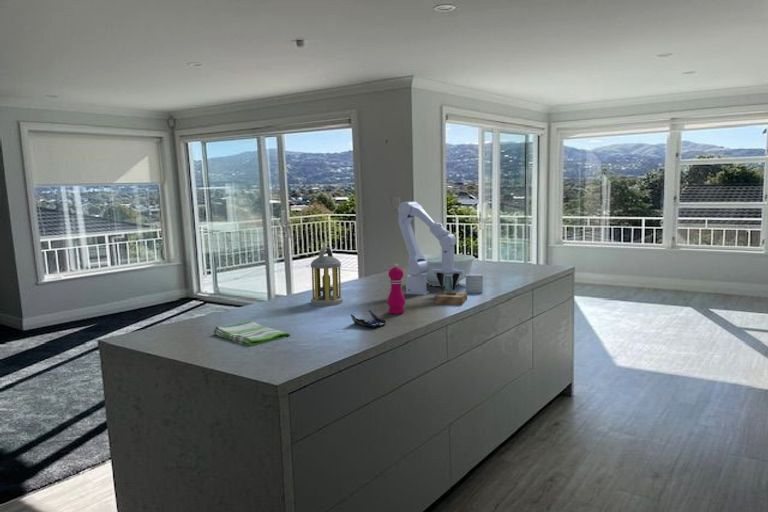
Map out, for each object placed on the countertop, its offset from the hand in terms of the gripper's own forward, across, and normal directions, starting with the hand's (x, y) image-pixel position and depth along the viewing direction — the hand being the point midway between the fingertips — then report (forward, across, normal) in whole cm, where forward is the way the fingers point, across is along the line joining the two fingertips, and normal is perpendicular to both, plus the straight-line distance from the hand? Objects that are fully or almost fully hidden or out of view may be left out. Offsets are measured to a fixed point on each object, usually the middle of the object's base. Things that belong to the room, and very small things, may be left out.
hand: (448, 289), depth 255 cm
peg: (+3, 0, 0) cm, 3 cm away
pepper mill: (+3, -13, -38) cm, 40 cm away
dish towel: (+4, -51, -85) cm, 99 cm away
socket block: (+3, +4, -12) cm, 13 cm away
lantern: (+3, -49, -27) cm, 56 cm away
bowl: (+3, -9, +30) cm, 32 cm away
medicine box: (+3, +10, +12) cm, 16 cm away
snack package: (+4, -16, -61) cm, 63 cm away
